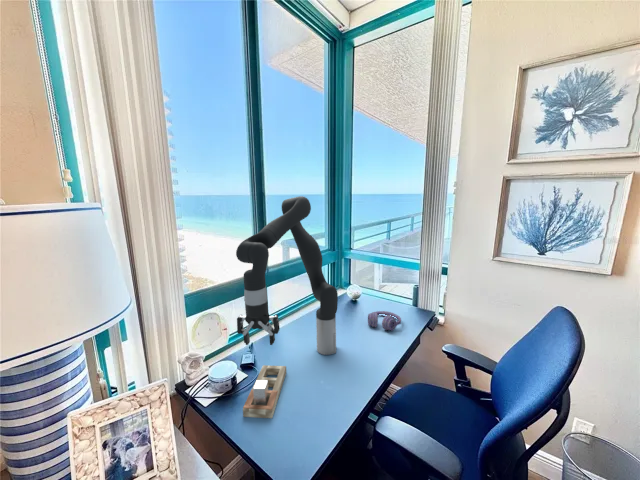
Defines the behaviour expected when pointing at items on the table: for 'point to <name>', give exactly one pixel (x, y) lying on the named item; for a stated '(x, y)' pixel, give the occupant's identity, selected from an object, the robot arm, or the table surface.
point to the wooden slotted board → (276, 383)
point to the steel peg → (261, 392)
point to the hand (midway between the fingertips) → (259, 343)
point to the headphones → (384, 320)
